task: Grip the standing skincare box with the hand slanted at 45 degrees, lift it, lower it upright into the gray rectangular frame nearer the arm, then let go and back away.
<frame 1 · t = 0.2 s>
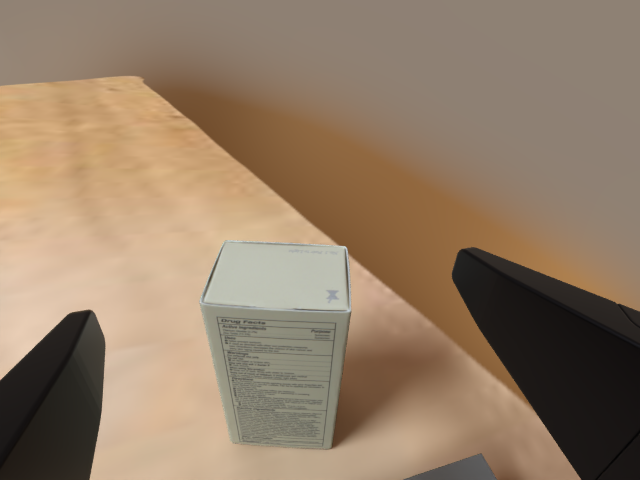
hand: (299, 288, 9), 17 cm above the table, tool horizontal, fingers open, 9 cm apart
skincare box: (282, 416, 24), on the table
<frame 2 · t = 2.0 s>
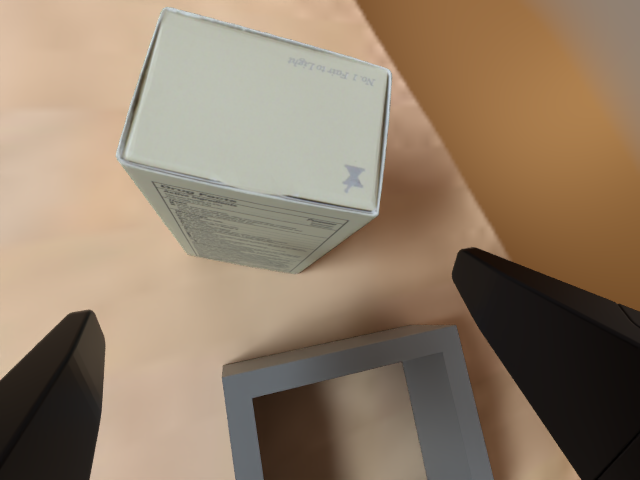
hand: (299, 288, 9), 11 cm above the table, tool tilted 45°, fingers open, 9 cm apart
skincare box: (247, 230, 21), on the table
gray rectangular frame: (342, 448, 19), on the table
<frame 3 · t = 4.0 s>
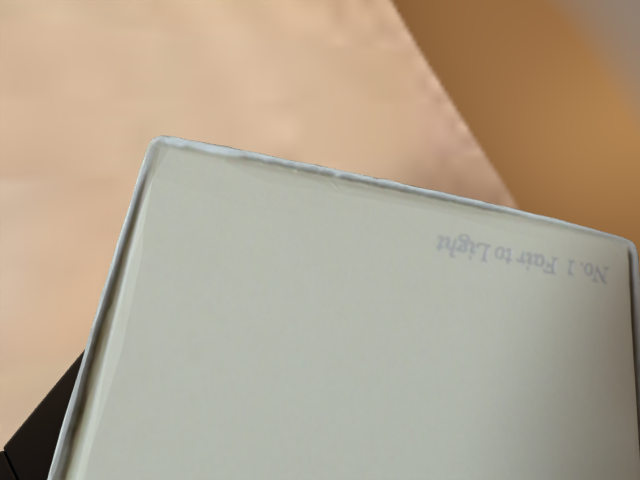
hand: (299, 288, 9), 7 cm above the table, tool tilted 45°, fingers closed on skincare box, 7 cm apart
skincare box: (273, 337, 15), on the table, touching gripper
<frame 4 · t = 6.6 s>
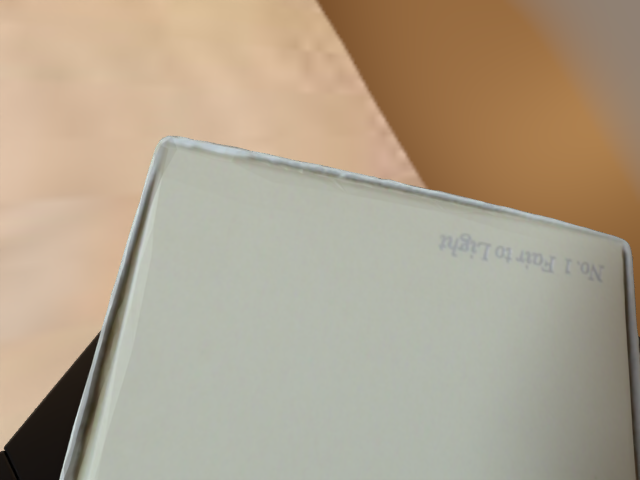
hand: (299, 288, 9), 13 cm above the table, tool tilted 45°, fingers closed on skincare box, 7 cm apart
skincare box: (270, 335, 16), point 6 cm above the table, touching gripper
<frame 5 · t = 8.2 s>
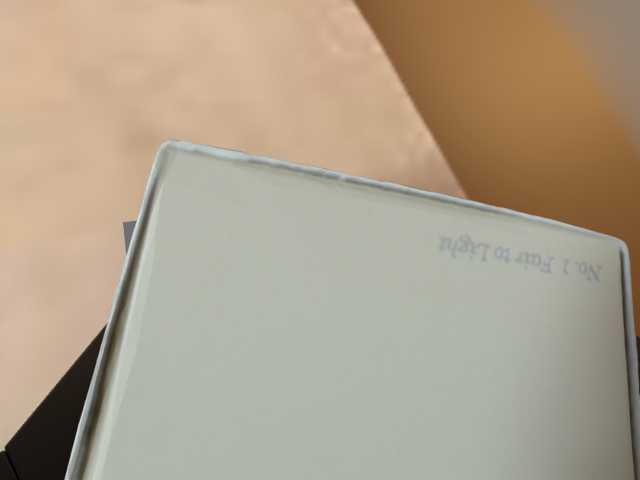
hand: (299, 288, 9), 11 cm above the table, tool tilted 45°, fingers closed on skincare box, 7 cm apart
skincare box: (269, 336, 16), point 4 cm above the table, touching gripper
when the fingers open (8 cm above the table, at t = 9.4 s): skincare box drops 1 cm, resting in gray rectangular frame.
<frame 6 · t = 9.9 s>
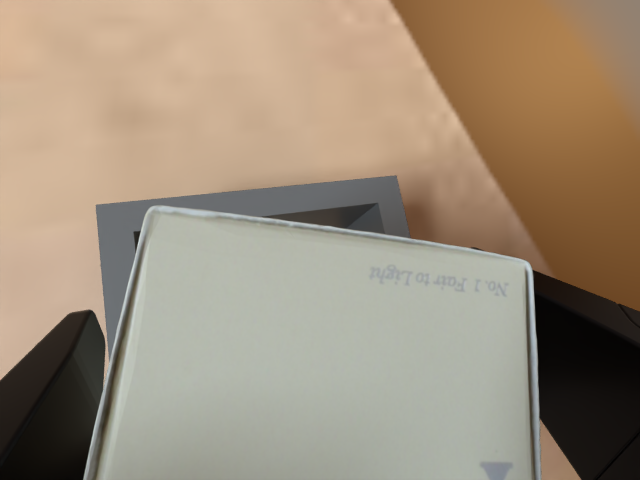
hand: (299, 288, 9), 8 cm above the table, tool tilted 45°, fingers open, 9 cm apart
skincare box: (266, 339, 17), resting in gray rectangular frame
gray rectangular frame: (271, 335, 17), on the table
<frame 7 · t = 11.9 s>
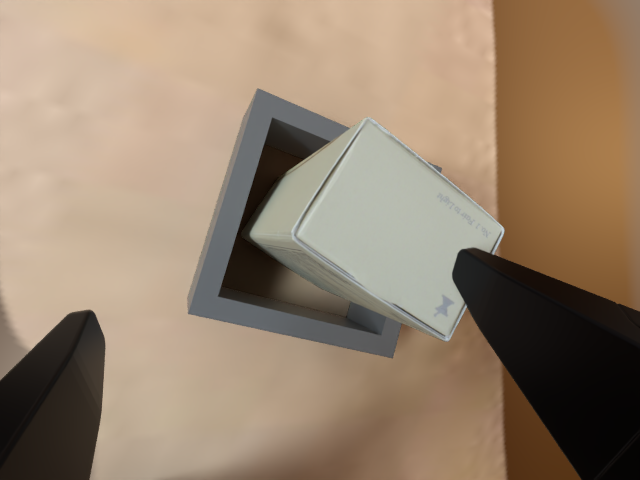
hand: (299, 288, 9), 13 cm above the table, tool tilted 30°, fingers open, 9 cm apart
skincare box: (297, 234, 23), resting in gray rectangular frame
gray rectangular frame: (302, 233, 23), on the table
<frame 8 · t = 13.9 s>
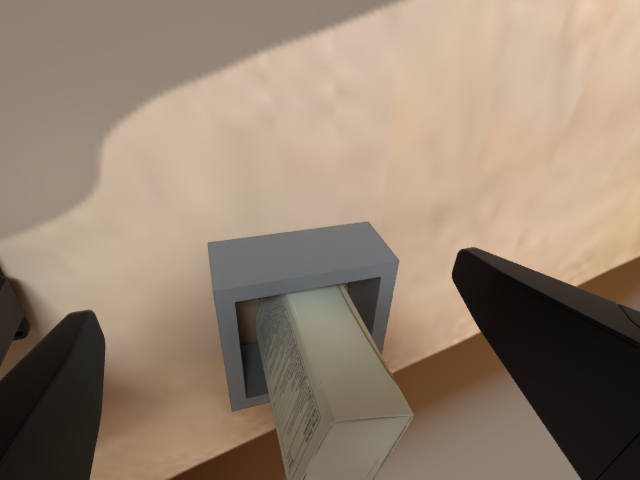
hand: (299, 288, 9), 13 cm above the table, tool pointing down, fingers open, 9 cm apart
skincare box: (290, 289, 27), resting in gray rectangular frame
gray rectangular frame: (292, 293, 27), on the table
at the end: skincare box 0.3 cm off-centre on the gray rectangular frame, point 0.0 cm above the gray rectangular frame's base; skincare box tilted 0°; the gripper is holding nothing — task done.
